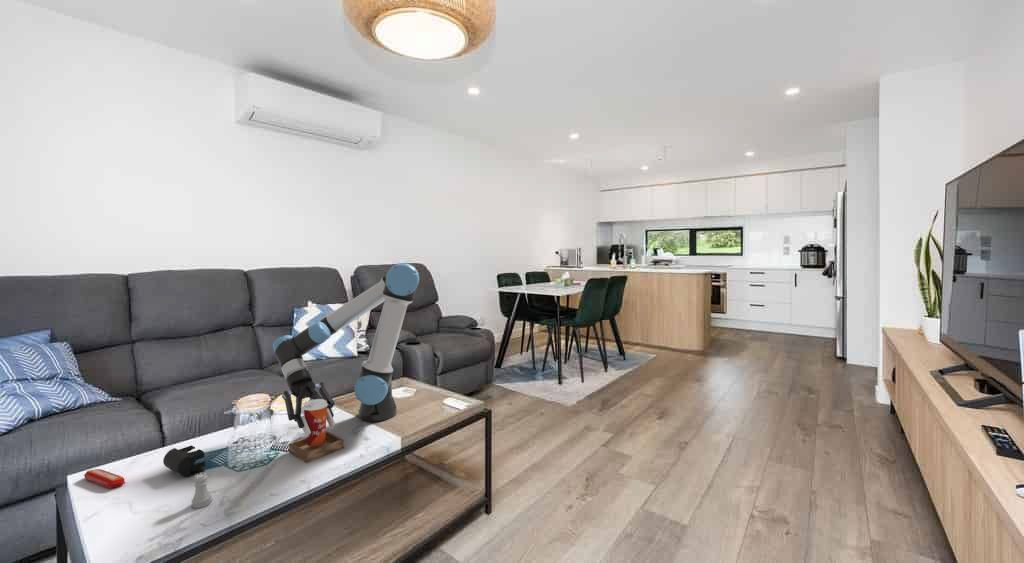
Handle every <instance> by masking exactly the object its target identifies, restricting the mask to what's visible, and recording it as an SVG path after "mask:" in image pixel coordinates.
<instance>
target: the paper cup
mask: <svg viewBox="0 0 1024 563" xmlns="http://www.w3.org/2000/svg"><path fill="white" fill-rule="evenodd" d="M327 405H328V404H327V402H326V400H324V399H315V400H313V399H311V400H308V401H305V402H304V404H303V405H302V409H303V413H304V414H303V416H304V417H305V419H306V422H307V424H308V427H309V429H310V431H311V433H310V435H309V437H307V445H308V446H319V445H322V444H324V443H325V439H326V431H327V419H326V415H327Z"/></svg>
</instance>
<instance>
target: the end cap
mask: <svg viewBox="0 0 1024 563" xmlns="http://www.w3.org/2000/svg"><path fill="white" fill-rule="evenodd" d="M195 449H196V447H195V446H194V445H189V446H185V447H182V448H180V449H178V448H176V447H174V448H171V449H170V450H168V451H167V452H166V454H165V455H164V457H163V460H162V462H163V465H164V467H165V468H167V469H169V470H171V471H173V472H174V473H176V474H177V475H180V476H182V477H185V478H190V477H192V476H196V475H197V474H198V475H199V473H204V472H206V471H205V466H206V461H204V460H203V461H201V462H198V463H197V461H199V460H200V459H203V458H205V451H204V450H201V449H196V450H195ZM192 450H194V451H192Z"/></svg>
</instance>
